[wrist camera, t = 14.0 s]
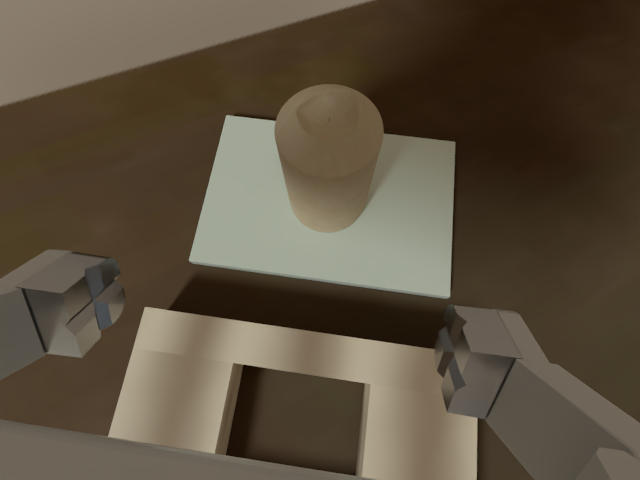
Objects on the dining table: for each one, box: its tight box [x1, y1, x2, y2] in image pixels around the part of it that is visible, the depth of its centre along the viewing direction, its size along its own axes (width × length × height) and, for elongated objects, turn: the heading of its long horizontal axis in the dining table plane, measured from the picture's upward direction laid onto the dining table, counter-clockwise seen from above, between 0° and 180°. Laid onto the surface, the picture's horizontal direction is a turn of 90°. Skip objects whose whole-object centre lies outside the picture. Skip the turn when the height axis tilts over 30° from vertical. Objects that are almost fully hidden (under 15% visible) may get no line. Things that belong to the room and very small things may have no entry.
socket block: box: [108, 307, 477, 480], centre depth 21 cm, size 20×13×3 cm, turn 82°
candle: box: [274, 84, 384, 233], centre depth 21 cm, size 6×6×10 cm
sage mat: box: [189, 115, 455, 299], centre depth 26 cm, size 18×12×1 cm, turn 82°
